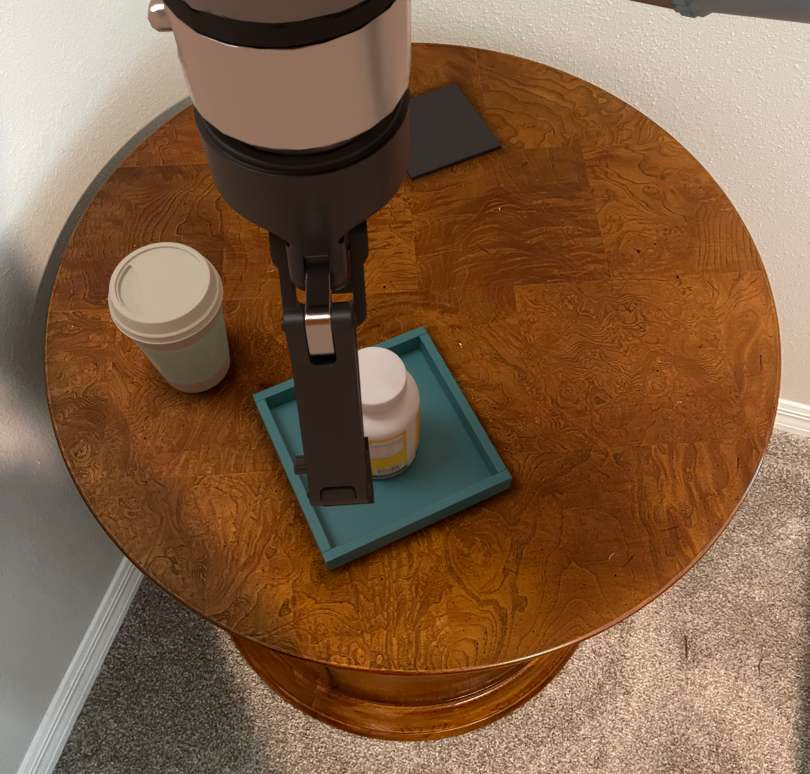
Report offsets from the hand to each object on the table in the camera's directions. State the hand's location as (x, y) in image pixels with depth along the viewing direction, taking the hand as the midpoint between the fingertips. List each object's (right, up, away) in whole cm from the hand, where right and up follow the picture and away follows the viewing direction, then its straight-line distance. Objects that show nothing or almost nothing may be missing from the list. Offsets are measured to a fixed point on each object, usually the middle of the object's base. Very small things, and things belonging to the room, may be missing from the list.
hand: (344, 386), depth 47 cm
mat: (+6, +26, +38) cm, 47 cm away
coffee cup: (-15, +2, +25) cm, 29 cm away
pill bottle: (+1, -5, +21) cm, 21 cm away
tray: (+1, -5, +21) cm, 21 cm away
